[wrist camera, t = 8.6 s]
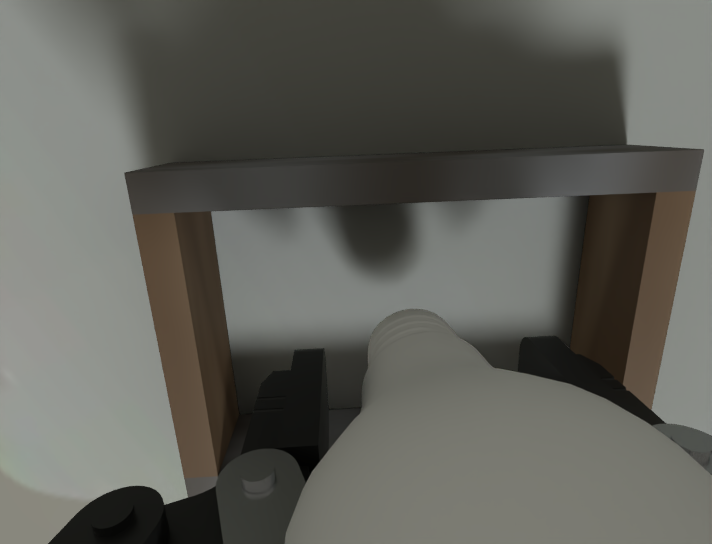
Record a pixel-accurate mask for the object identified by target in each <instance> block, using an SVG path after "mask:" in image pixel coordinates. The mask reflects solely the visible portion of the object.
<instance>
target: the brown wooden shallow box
mask: <svg viewBox="0 0 712 544" xmlns="http://www.w3.org/2000/svg"><path fill="white" fill-rule="evenodd" d="M703 153H704V149H688V148H672V147H656V146H640V145H609V146H584V147H558V148H533V149H508V150H483V151H458V152H432V153H407V154H382V155H357V156H331V157H306V158H281V159H256V160H231V161H205V162H180V163H167V164H163V165H158V166H153V167H149V168H144V169H140V170H135V171H130V172H126V173H124V174H125V179H126V184H127V189H128V194H129V199H130V204H131V209H132V214H133V219H134V224H135V230H136V235H137V240H138V245H139V250H140V255H141V260H142V265H143V270H144V275H145V280H146V285H147V291H148V296H149V301H150V306H151V311H152V316H153V321H154V326H155V331H156V336H157V341H158V347H159V352H160V357H161V362H162V367H163V372H164V377H165V382H166V387H167V392H168V397H169V402H170V408H171V413H172V418H173V423H174V428H175V433H176V438H177V443H178V448H179V453H180V458H181V464H182V469H183V474H184V479H185V484H186V489H187V494H188V498H189V497H192V496H195V495H198V494H200V493H203V492H205V491H207V490H209V489H211V488H213V487H215V486H216V482H217V479H218V476H219V474H220V473H221V471H222V470H223V469H224V467H225V466H226V465H227V464H228V463H230V462H231V461H232V460H234V459H235V458H237V457H238V456H240V455H241V451H242V448H243V445H244V441H245V438H246V434H247V431H248V427H249V424H250V421H251V417H252V414H241V415H239V410H238V403H237V395H236V388H235V381H234V374H233V367H232V360H231V353H230V346H229V338H228V331H227V324H226V317H225V310H224V303H223V296H222V288H221V281H220V274H219V267H218V260H217V253H216V246H215V239H214V231H213V224H212V217H211V211H230V210H253V209H277V208H300V207H324V206H348V205H371V204H395V203H419V202H442V201H466V200H489V199H513V198H537V197H560V196H584V195H590V196H589V204H588V212H587V220H586V227H585V235H584V243H583V251H582V258H581V266H580V274H579V281H578V289H577V297H576V305H575V312H574V320H573V328H572V336H571V343H570V349H571V350H572V351H573V352H574V353H575V354H581V355H583V356H585V357H587V358H589V359H591V360H593V361H595V362H596V363H598V364H600V365H601V366H603V367H604V368H605V369H606V370H607V371H608V372H609V373H610V374H611V375H613V376H614V379H615V380H618V381H619V382H620V383H621V384H623V385H624V386H625V387H626V390H627V391H628V390H629V391H630V392H631V393H633V394H634V395H635V396H636V397H637V398H638V399H639V400H640V401H641V402H643V403H644V404H645V405H646V406H647V407H648V408H649V409H650V410H651V409H652V404H653V399H654V394H655V389H656V384H657V379H658V374H659V369H660V364H661V360H662V355H663V350H664V345H665V340H666V335H667V330H668V325H669V320H670V315H671V310H672V306H673V301H674V296H675V291H676V286H677V281H678V276H679V271H680V266H681V261H682V256H683V252H684V247H685V242H686V237H687V232H688V227H689V222H690V217H691V212H692V207H693V202H694V197H695V193H696V188H697V183H698V178H699V173H700V168H701V163H702V158H703ZM360 411H361V408H354V409H335V410H329V449H330V448H331V447H332V445H333V444H334V443H335V442H336V440H337V439H338V438H339V437H340V436H341V434H342V433H343V432H344V431H345V430H346V428H347V427H348V426H349V425H350V424H351V422H352V421H353V420H354V419H355V418H356V417H357V416H358V415H359V414H360Z"/></svg>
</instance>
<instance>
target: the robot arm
mask: <svg viewBox="0 0 712 544" xmlns="http://www.w3.org/2000/svg"><path fill="white" fill-rule="evenodd" d="M518 372H520V373H525V374H530V375H534V376H538V377H542V378H547V379H551V380H555V381H559V382H564V383H568V384H572V385H574V386H576V387H579V388H581V389H584V390H586V391H588V392H591V393H593V394H596V395H598V396H600V397H603V398H605V399H607V400H609V401H610V402H612V403H614V404H616V405H617V406H619V407H621V408H623V409H624V410H626V411H628V412H630V413H631V414H633V415H635V416H637V417H638V418H640V419H642V420H644V421H645V422H647V423H648V424H650V425H651V426H653V427H654V428H655V429H657V430H658V431H660V432H661V433H662V434H664V435H665V436H667V437H668V438H669V439H671V440H672V441H674V442H675V443H676V444H678V445H679V446H680V447H681V448H682V449H683V450H685V451H686V452H687V453H688V454H689V455H690V456H691V457H692V458H693V459H694V460H695V461H697V462H698V463H699V464H700V465H701V466H702V467H703V468H704V469H705V470H706V471H708V472H709V473H710V474H711V475H712V436H711V435H709V434H707V433H704V432H702V431H700V430H697V429H694V428H690V427H687V426H682V425H677V424H666V423H665V422H664V421H663V420H661V419H660V418H659V417H658V416H657V415H656V414H655V413H654V412H653V411H651V410H650V409H649V408H648V407H647V406H646V405H645V404H644V403H643V402H641V401H640V400H639V399H638V398H637V397H636V396H635V395H634V394H633V393H631V392H630V391H629V390H628V391H627V390H626V387H625V386H624V385H623V384H621V383H620V382H619V381H618V380H615V379H614V376H613V375H611V374H610V373H609V372H608V371H607V370H606V369H605V368H604V367H603V366H601V365H600V364H598V363H596V362H595V361H593V360H591V359H589V358H587V357H585V356H583V355H581V354H575V353H574V352H573V351H572V350H571V349H570V348H569V347H567V346H566V345H565V344H564V343H563V342H562V341H561V340H560V339H559V338H558V337H557V336H539V337H525V338H523V339H522V341H521V344H520V351H519V363H518ZM328 451H329V405H328V390H327V376H326V362H325V351H324V348H321V349H303V350H295V351H294V355H293V361H292V366H291V370H287V371H273V372H272V373H271V374H270V375H269V376H268V377H267V378H266V379H265V380H264V381H263V382H262V383H261V386H260V390H259V393H258V397H257V401H256V403H255V407H254V413H253V414H252V417H251V421H250V424H249V427H248V431H247V434H246V438H245V441H244V445H243V448H242V451H241V455H240V456H238V457H237V458H235V459H234V460H232V461H231V462H230V463H228V464H227V465H226V466H225V467H224V469H223V470H222V471H221V473H220V474H219V476H218V479H217V482H216V486H215V487H213V488H211V489H209V490H207V491H205V492H203V493H200V494H198V495H195V496H192V497H189V498H185V499H182V500H179V501H176V502H173V503H170V504H166V505H164V502H163V499H162V497H161V495H160V494H159V493H158V492H157V491H156V490H154V489H152V488H150V487H145V486H129V487H124V488H120V489H117V490H114V491H111V492H109V493H106V494H104V495H102V496H100V497H98V498H97V499H95V500H94V501H92V502H90V503H89V504H88V505H86V506H85V507H84V508H83V509H82V510H80V511H79V512H78V513H77V514H76V515H75V516H74V517H73V518H72V519H71V520H70V521H69V522H68V524H67V525H66V526H65V527H64V528H63V529H62V530H61V531H60V532H59V533H58V534H57V535H56V536H55V537H54V538H53V539H52V540H51V541H50V542H49V543H48V544H285V536H286V531H287V528H288V526H289V523H290V521H291V518H292V516H293V513H294V510H295V508H296V505H297V503H298V500H299V498H300V495H301V492H302V490H303V488H304V486H305V484H306V482H307V480H308V478H309V476H310V475H311V473H312V471H313V470H314V468H315V467H316V466H317V465H318V463H319V462H320V461H321V459H322V458H323V457H324V456H325V454H326V453H327V452H328Z"/></svg>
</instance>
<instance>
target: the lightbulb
mask: <svg viewBox="0 0 712 544" xmlns="http://www.w3.org/2000/svg"><path fill="white" fill-rule="evenodd" d="M285 544H712V475H711V474H710V473H709V472H708V471H706V470H705V469H704V468H703V467H702V466H701V465H700V464H699V463H698V462H697V461H695V460H694V459H693V458H692V457H691V456H690V455H689V454H688V453H687V452H686V451H685V450H683V449H682V448H681V447H680V446H679V445H678V444H676V443H675V442H674V441H672V440H671V439H669V438H668V437H667V436H665V435H664V434H662V433H661V432H660V431H658V430H657V429H655V428H654V427H653V426H651V425H650V424H648V423H647V422H645V421H644V420H642V419H640V418H638V417H637V416H635V415H633V414H631V413H630V412H628V411H626V410H624V409H623V408H621V407H619V406H617V405H616V404H614V403H612V402H610V401H609V400H607V399H605V398H603V397H600V396H598V395H596V394H593V393H591V392H588V391H586V390H584V389H581V388H579V387H576V386H574V385H572V384H568V383H564V382H559V381H555V380H551V379H547V378H542V377H538V376H534V375H530V374H525V373H520V372H515V371H510V370H505V369H499V368H494V367H493V366H491V365H490V364H489V363H488V362H487V361H486V359H485V358H484V357H483V356H482V355H481V354H480V352H479V351H478V350H477V349H476V348H475V347H474V346H472V345H471V344H469V343H468V342H466V341H465V340H463V339H461V338H459V337H458V336H457V334H456V333H455V332H454V331H453V329H452V328H451V327H450V326H449V325H448V324H447V323H446V322H445V321H444V320H443V319H442V318H441V317H439V316H438V315H437V314H435V313H432V312H430V311H427V310H422V309H407V310H402V311H399V312H396V313H393V314H392V315H390V316H388V317H386V318H385V319H384V320H383V321H382V322H380V323H379V325H378V326H377V327H376V328H375V330H374V331H373V333H372V335H371V337H370V341H369V345H368V370H367V372H366V374H365V377H364V381H363V384H362V395H361V411H360V414H359V415H358V416H357V417H356V418H355V419H354V420H353V421H352V422H351V424H350V425H349V426H348V427H347V428H346V430H345V431H344V432H343V433H342V434H341V436H340V437H339V438H338V439H337V440H336V442H335V443H334V444H333V445H332V447H331V448H330V449H329V451H328V452H327V453H326V454H325V456H324V457H323V458H322V459H321V461H320V462H319V463H318V465H317V466H316V467H315V468H314V470H313V471H312V473H311V475H310V476H309V478H308V480H307V482H306V484H305V486H304V488H303V490H302V492H301V495H300V498H299V500H298V503H297V505H296V508H295V510H294V513H293V516H292V518H291V521H290V523H289V526H288V528H287V531H286V536H285Z"/></svg>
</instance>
